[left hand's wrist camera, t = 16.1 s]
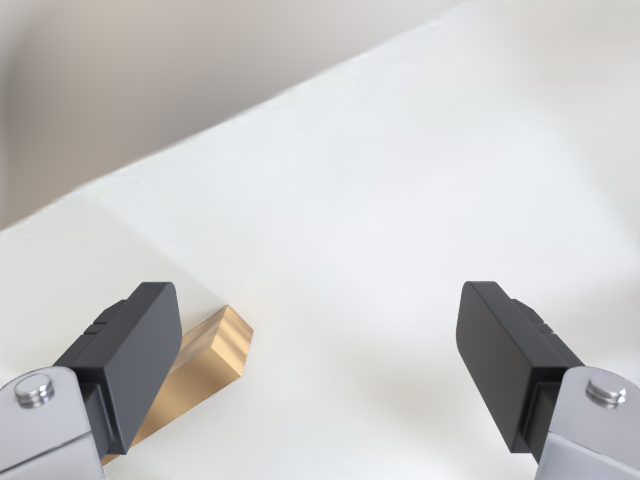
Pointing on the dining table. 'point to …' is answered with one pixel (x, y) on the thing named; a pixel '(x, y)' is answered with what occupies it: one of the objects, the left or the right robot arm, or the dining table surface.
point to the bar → (198, 370)
